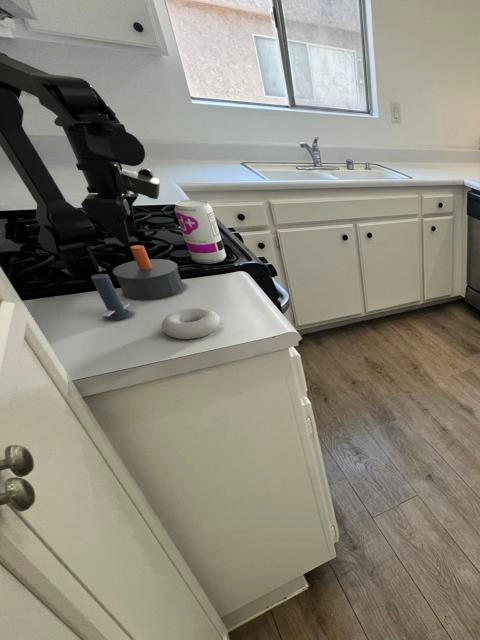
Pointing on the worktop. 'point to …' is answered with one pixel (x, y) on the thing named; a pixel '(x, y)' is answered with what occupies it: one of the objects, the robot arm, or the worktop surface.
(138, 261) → the bowl lid
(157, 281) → the bowl
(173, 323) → the donut
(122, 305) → the food processor blade
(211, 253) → the supplement can
